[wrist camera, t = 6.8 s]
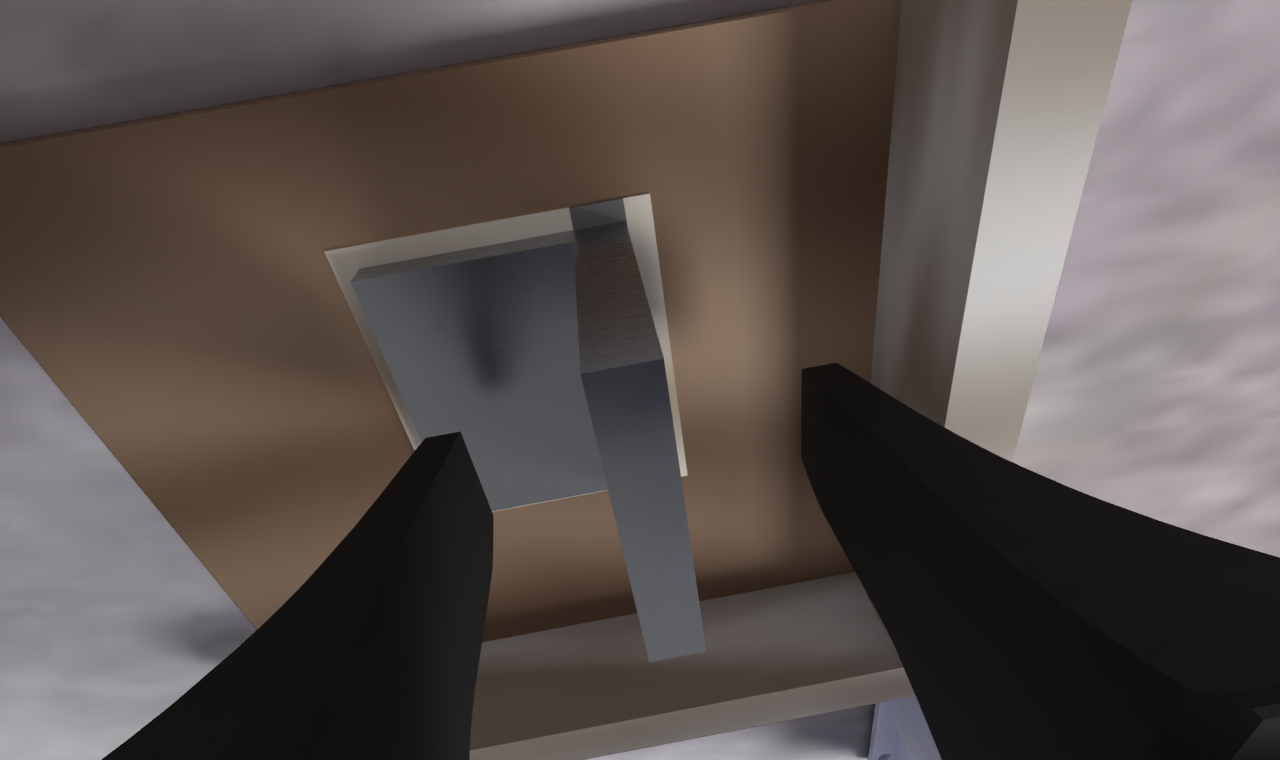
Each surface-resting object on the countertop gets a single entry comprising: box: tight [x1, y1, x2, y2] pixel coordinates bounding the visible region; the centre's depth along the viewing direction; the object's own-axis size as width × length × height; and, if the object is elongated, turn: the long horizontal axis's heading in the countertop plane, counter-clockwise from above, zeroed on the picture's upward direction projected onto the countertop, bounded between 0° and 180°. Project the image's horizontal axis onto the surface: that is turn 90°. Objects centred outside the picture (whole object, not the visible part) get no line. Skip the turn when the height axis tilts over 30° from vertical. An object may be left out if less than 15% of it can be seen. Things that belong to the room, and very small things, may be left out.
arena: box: [0, 0, 1132, 760], centre depth 13 cm, size 16×18×4 cm
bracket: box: [351, 221, 706, 662], centre depth 11 cm, size 5×6×5 cm
